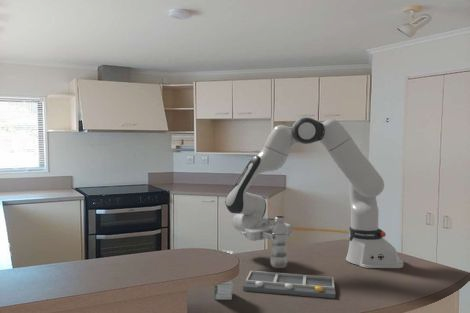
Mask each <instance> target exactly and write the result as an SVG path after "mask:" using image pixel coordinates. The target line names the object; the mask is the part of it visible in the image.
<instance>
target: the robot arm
mask: <svg viewBox="0 0 470 313" xmlns="http://www.w3.org/2000/svg"><path fill="white" fill-rule="evenodd" d="M317 142H320V143H321V144H322V145H323V146H324V147H325V149H326V151H327V152H328V154H329V155H330V157H331V158H332V160H333V161H334V162H335V164H336V165H337V167H338V168H339V169H340V170H341V172H342V173H343V174H344V176H345V177H346V178H347V179H348V192H349V193H348V194H349V203H350V226H349V228H348V238H349V244H348V249H347V254H346V257H345V261H347V262H348V263H350V264H354V265H356V266H360V267H362V268H365V269H402V268H404V261H403V259H401V258H399V257H398V254H397V250H396V248H395V246H394V245H392V244H391V243H390V242H389V241H387V240H386V239H385V237H386V236H387V235H386V232H385V231H383V230H382V229H381V228H379V206H378V201H377V197H378V196H379V195H380V194H382V192H383V191H384V189H385V182H384V179H383V177H382V176H381V174H380V173H379V172H378V171H377V170H376V168H375V167H374V165H373V164H372V163H371V161H369V160H368V158H367V157H366V156H365V155H364V154H363V152H362V151H361V149H360V148H359V147H358V145H357V144H356V142H355V141H354V139H353V138H352V137H351V134H350V133H349V132H348V131H347V130H346V129H345V127H344V126H343V124H341V123H340V122H339V121H338V120H336V119H334V118H329V119H326V120H324V121H323V122H320V121H318V120H316V119H314V118H311V117H309V116H308V117H307V116H305V117H300V118H298V119H297V120H296V121H295V122H294V123H292V124H291V125H290V126H287V125H285V124H278V125H276V126H274V127H273V128H272V130H271V132H270V133H269V135H268V137H267V139H266V140H265V143H264V145H263V148H262V149H261V151H259V153H258V154H257V155H256V156H255V155H254V156H252V158H251V159H250V160H249V161H248V163H247V165H246V166H245V168H244V169H243V171H242V172H241V174H240V175H239V177H238V178H237V181H236V182H235V184H234V186H233V187H232V188H231V189H230V190H229V192H228V193H227V194H226V197H225V201H224V203H225V207H226V209H227V210H228V212H229V213H231V214H234V216H233V218H232V226H233V228H234V229H235V231H237V232H239V233H240V234H241V235H243V236H244V238H245V239H247V240H249V241H251V242H252V241H253V242H255V241H262V240H265V239H266V240H267V239H270V240H272V239H275V235H274V234H272V233H271V229H272V227H273V225H274V224H275V218H264V217H265V216H266V212H267V203H266V199H265V198H264V197H263V196H262V195H259V194H255V193H251V192H248V190H249V187H250V186H251V184H252V183H253V181H254V179H256V177H257V176H259V175H260V174H263V173H265V172H273V171H278V170H279V169H281V168H282V167H283V166H284V165H285V163H286V161H287V160H288V159H287V158H288V157H289V153H290V152H291V149H292V148H293V146H294V145H296V144H298V143H300V144H302V145H303V144H304V145H310V144H313V143H317ZM284 224H285V225H286V226H287V228H288V236H287V237H289V236H290V235H291V234H292V225H291V224H289V223H287V222H286V221H285V222H284Z"/></svg>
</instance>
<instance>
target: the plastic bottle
mask: <svg viewBox="0 0 470 313" xmlns="http://www.w3.org/2000/svg"><path fill="white" fill-rule="evenodd" d="M274 219H275V224H274V225H273V227H272V229H271V233H272V234H274V235H275V239H271V240H272V242H271V243H272V247H271V248H272V249H271V256H270V265H271V267H272V268H275V269H284V268H286V267H287V266H288V262H289V261H288V255H287V252H288V251H287V242H288V241H287V240H288V237H289V236H288V228H287V226H286V225H285V224H284V222H285V223H286V218H285V216H284V215H276V216H274Z"/></svg>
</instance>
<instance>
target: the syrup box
mask: <svg viewBox="0 0 470 313" xmlns="http://www.w3.org/2000/svg"><path fill="white" fill-rule="evenodd" d="M222 251H223V252H227V253H230V254H233V255H234V251H231V250H222ZM233 289H234V279H233V280H231V281H229V282H226V283H223V284H221V285H218V286H215V285H214V297H213V298H214V300H217V301H218V300H219V301H220V300H224V301H226V300H232V299H233V292H234V291H233Z"/></svg>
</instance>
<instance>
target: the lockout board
mask: <svg viewBox="0 0 470 313" xmlns="http://www.w3.org/2000/svg"><path fill="white" fill-rule="evenodd" d="M242 291H243V292H256V293H267V294H268V293H269V294H276V295H277V294H280V295H288V294H289V295H290V296H299V295H300V297H302V296H303V297H314V298H325V299H326V298H327V299H336V288H335V279H334V276H323V275H315V274H314V275H312V274H311V275H310V274H300V273H286V272H273V271H261V270H260V271H257V270H250V271H249V273H248V275H247V277H246V279H245V281H244V283H243V288H242Z"/></svg>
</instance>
